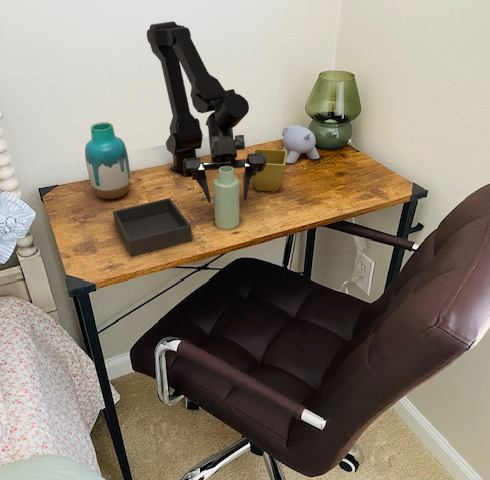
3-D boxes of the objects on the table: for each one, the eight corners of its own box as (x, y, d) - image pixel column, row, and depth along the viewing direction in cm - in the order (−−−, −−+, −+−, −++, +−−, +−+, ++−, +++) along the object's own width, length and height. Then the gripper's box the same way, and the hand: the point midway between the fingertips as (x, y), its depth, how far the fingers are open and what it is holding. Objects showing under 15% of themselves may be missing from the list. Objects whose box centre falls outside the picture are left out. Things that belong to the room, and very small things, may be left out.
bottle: (210, 223, 116) (208, 170, 108) (226, 213, 119) (225, 161, 111) (228, 232, 113) (227, 177, 105) (244, 221, 116) (244, 168, 108)
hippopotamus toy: (302, 142, 153) (304, 112, 148) (324, 161, 141) (328, 130, 136) (270, 147, 151) (271, 117, 146) (290, 167, 139) (292, 135, 134)
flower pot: (283, 196, 125) (284, 164, 120) (249, 194, 127) (249, 162, 122) (285, 180, 132) (287, 149, 127) (253, 179, 134) (253, 148, 129)
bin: (115, 225, 117) (112, 211, 115) (171, 211, 121) (169, 197, 119) (131, 257, 106) (128, 241, 104) (192, 240, 110) (191, 225, 108)
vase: (141, 193, 129) (132, 124, 119) (109, 209, 123) (96, 138, 112) (116, 182, 136) (105, 115, 125) (84, 196, 129) (70, 127, 118)
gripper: (180, 124, 106) (186, 194, 103) (265, 118, 107) (274, 187, 104) (181, 144, 117) (186, 207, 114) (258, 139, 118) (266, 201, 115)
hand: (227, 201), depth 111 cm, fingers open, 8 cm apart
